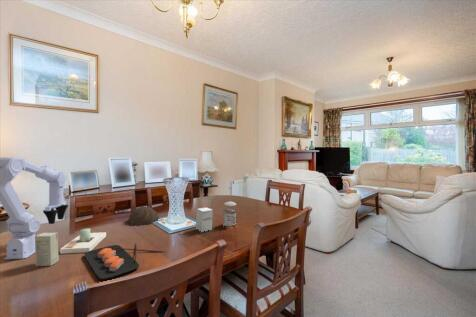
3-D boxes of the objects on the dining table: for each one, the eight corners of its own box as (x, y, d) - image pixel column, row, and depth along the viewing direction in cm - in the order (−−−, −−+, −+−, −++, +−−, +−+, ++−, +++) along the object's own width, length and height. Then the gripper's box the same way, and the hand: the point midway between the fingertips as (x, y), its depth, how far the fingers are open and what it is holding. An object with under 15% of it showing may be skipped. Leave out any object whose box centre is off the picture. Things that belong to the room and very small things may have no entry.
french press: (239, 226, 145) (240, 187, 144) (222, 228, 140) (223, 188, 140) (234, 222, 154) (235, 185, 153) (217, 223, 150) (218, 185, 149)
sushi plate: (82, 256, 100) (82, 248, 100) (149, 239, 121) (149, 232, 121) (100, 285, 80) (100, 275, 80) (176, 258, 101) (176, 250, 101)
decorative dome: (147, 227, 139) (148, 211, 139) (120, 224, 144) (120, 208, 144) (165, 218, 158) (165, 204, 158) (140, 216, 163) (140, 202, 162)
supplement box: (201, 232, 132) (202, 211, 132) (195, 229, 138) (196, 208, 137) (212, 230, 137) (213, 209, 136) (206, 226, 143) (206, 207, 142)
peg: (87, 245, 111) (87, 231, 110) (77, 246, 110) (77, 231, 110) (92, 241, 115) (92, 228, 115) (82, 242, 114) (82, 228, 114)
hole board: (89, 252, 104) (89, 247, 104) (59, 253, 102) (59, 248, 101) (106, 235, 123) (106, 231, 123) (81, 236, 121) (81, 232, 121)
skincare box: (59, 261, 95) (59, 232, 95) (50, 266, 91) (50, 236, 90) (43, 260, 95) (43, 232, 94) (34, 266, 90) (34, 235, 90)
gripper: (56, 197, 110) (56, 225, 110) (72, 192, 124) (72, 217, 125) (40, 198, 109) (40, 226, 109) (58, 192, 123) (58, 217, 123)
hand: (56, 221), depth 117 cm, fingers open, 7 cm apart
